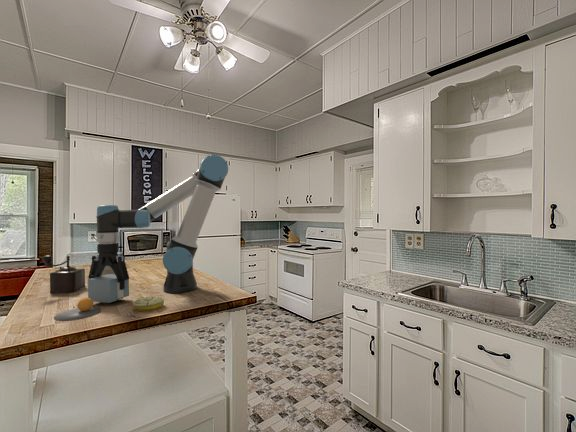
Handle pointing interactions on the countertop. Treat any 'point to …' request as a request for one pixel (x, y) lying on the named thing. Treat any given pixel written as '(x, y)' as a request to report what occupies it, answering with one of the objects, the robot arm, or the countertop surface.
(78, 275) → the brown coffee grinder
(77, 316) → the disc
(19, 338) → the countertop surface
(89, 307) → the ball
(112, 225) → the robot arm
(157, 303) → the decorated donut
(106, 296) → the grey rectangular block
